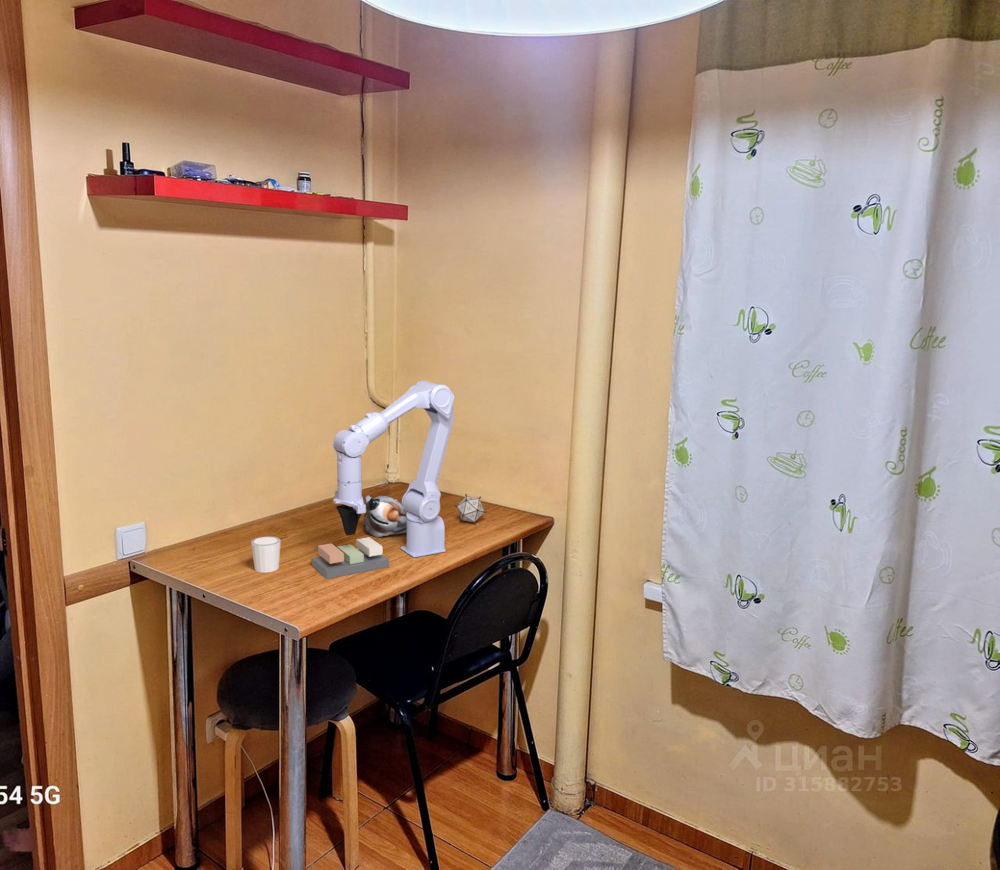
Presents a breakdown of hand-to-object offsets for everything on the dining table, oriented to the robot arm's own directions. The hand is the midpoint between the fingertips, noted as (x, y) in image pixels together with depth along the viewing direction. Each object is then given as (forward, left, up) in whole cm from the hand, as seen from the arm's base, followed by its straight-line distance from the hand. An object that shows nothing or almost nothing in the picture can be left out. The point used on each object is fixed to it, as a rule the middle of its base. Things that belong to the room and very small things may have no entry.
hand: (350, 534), depth 193 cm
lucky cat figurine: (-19, -18, -8) cm, 28 cm away
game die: (-44, -16, -8) cm, 48 cm away
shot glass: (+18, -8, -8) cm, 22 cm away
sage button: (0, 0, -6) cm, 6 cm away
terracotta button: (+5, 0, -5) cm, 7 cm away
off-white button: (-5, 0, -5) cm, 7 cm away
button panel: (0, 0, -8) cm, 8 cm away
